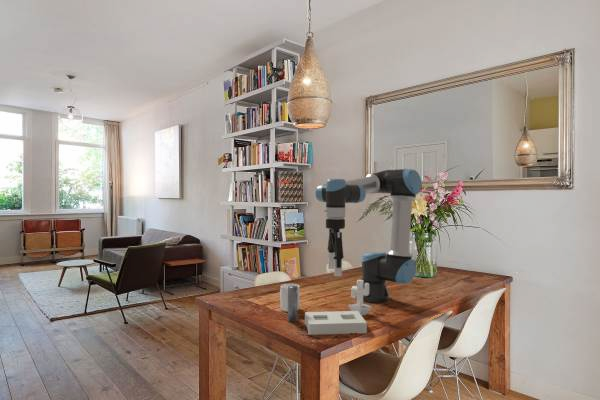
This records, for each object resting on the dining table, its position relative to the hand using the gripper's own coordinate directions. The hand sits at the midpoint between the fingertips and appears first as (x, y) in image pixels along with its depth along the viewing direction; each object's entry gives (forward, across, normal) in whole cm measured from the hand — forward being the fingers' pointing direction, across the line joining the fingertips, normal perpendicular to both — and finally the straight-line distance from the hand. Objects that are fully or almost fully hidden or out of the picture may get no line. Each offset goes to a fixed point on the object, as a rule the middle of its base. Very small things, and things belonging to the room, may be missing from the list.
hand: (334, 272), depth 147 cm
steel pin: (+22, -9, -16) cm, 28 cm away
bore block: (+22, 0, 0) cm, 22 cm away
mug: (+22, -25, -17) cm, 37 cm away
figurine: (+22, -15, +14) cm, 30 cm away
